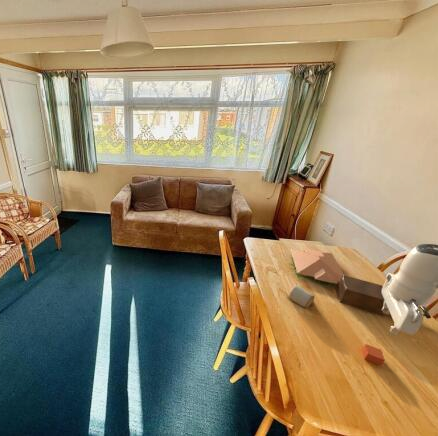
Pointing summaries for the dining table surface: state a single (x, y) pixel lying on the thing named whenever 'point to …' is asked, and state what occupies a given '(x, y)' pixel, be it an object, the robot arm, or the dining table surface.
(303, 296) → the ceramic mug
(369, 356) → the block
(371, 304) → the cabinet
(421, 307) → the drawer
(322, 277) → the house
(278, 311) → the dining table surface
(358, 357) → the dining table surface
